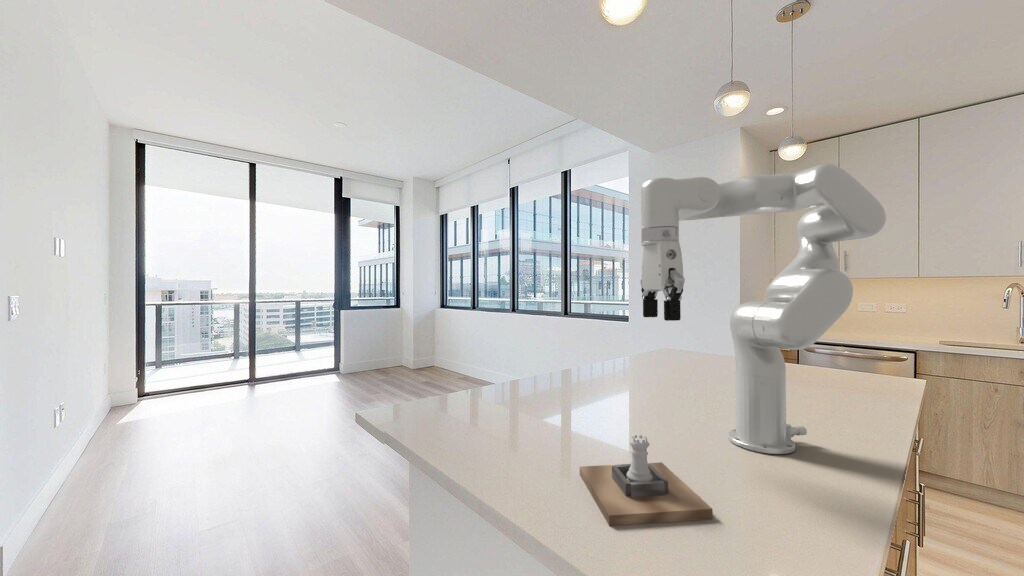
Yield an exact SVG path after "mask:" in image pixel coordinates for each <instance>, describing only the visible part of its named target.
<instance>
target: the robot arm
mask: <svg viewBox="0 0 1024 576" xmlns="http://www.w3.org/2000/svg"><path fill="white" fill-rule="evenodd" d="M825 205H826V206H825ZM819 206H822V207H819ZM815 207H816V208H815ZM811 208H814V209H811ZM806 209H807V210H808V209H811V210H810V211H809V210H808V211H807V212H806V213H804V214H803V215H802V216H801V217H800V219H799V220H798V223H797V226H796V234H797V240H798V253H797V255H796V256H795V257H794V259H792V261H791V262H790V263H789V264H788V265H787V266H785V268H784V269H782V270H781V272H780V273H778V275H776V276H775V277H774V278H773V279H772V280H771V281H770V283H769V284H768V285H767V288H766V290H765V298H766V301H759V300H757V301H747V302H743V303H741V304H739V305H738V306H737V307H735V309H734V310H733V311H732V313H731V316H730V319H729V326H730V332H731V338H732V342H733V347H734V358H735V372H734V373H735V428H734V429H732V430H730V431H729V432H728V434H727V435H728V439H729V441H731V443H733V444H734V445H736V446H738V447H739V448H743V449H746V450H749V451H753V452H758V453H761V454H762V453H764V454H768V455H787V454H791V453H793V452H795V450H796V442H794V441H793V440H792V438H793V437H794V436H799V437H800V436H806V435H807V433H808V430H807V428H806V427H805V426H802V425H800V426H798V425H797V426H792V425H791V424H790V423H787V368H786V362H785V358H784V355H783V353H782V351H781V349H786V350H793V351H794V350H795V351H796V350H804V349H807V348H809V347H811V346H812V345H815V344H816V343H817V341H818V340H819V339H821V337H823V336H824V334H826V333H827V331H828V330H829V329H830V328H831V327H833V326H834V324H835V323H836V322H837V321H838V320H839V319H840V318H841V317H842V316H843V315H844V313H845V312H846V311H847V310H848V308H849V307H850V305H851V303H852V299H853V296H854V287H853V283H852V280H850V278H849V276H847V275H846V274H845V273H844V272H842V271H840V267H841V266H840V265H841V264H840V260H839V258H838V256H837V254H836V251H835V248H834V245H833V243H837V242H844V241H853V240H862V239H867V238H870V237H873V236H875V235H877V234H878V233H880V232H881V230H883V228H884V226H885V225H886V220H887V215H886V214H887V213H886V210H885V208H884V206H883V205H882V203H881V202H880V201H879V200H878V199H877V198H876V197H875V196H874V194H872V193H871V192H870V191H869V190H868V189H867V188H865V186H864V185H862V184H861V182H860V181H858V180H857V179H856V178H855V177H854V176H852V174H850V173H849V172H847V170H844V169H843V168H841V167H839V166H838V165H835V164H831V163H822V164H819V165H815V166H812V167H810V168H806V169H802V170H800V171H797V172H793V173H792V172H791V173H778V174H777V173H775V174H750V175H746V176H742V177H739V178H734V179H731V180H728V181H724V182H721V183H717V181H715V180H714V179H712V178H709V177H705V176H696V177H687V178H678V179H677V178H676V179H675V178H672V177H655V178H652V179H648V180H646V181H645V182H643V183H642V185H641V189H640V212H641V213H640V216H641V217H640V218H641V219H640V220H641V221H640V222H641V223H640V224H641V226H640V229H641V230H640V231H641V234H640V235H641V242H640V243H641V244H640V245H641V247H643V248H642V249H643V251H642V263H641V279H640V287H641V289H640V290H641V294H642V295H641V298H642V316H643V318H658V313H659V311H658V308H659V307H658V306H659V305H658V303H659V302H658V301H659V300H658V299H656V298H657V295H658V294H659V292H662V294H663V295H664V298H665V300H663V320H664V321H669V322H670V321H673V322H674V321H675V322H676V321H681V318H682V317H681V301H682V298H683V297H682V294H683V292H684V286H685V280H686V279H685V277H684V264H683V256H682V250H681V245H680V222H681V221H683V222H684V221H697V220H706V219H707V220H708V219H717V218H725V217H726V218H727V217H728V218H729V217H740V216H745V215H757V214H758V215H760V214H774V213H789V212H790V213H791V212H798V211H803V210H806Z"/></svg>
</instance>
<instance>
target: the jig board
mask: <svg viewBox="0 0 1024 576" xmlns="http://www.w3.org/2000/svg"><path fill="white" fill-rule="evenodd" d="M630 466H631V463H623V464H620V463H619V464H605V465H602V464H601V465H586V466H585V465H584V466H579V476H580V478H581V480H582V481H583V483H584V484H585V486H586V489H587V490H588V492H589V493H590V495H591V496H592V499H593V500H594V502H595V503H596V505H597V507H598V509H599V510H600V512H601V514H602V515H603V518H604V519H605V521H606V523H607V525H608V526H609V527H610V526H611V527H612V526H625V525H626V526H627V525H641V524H655V523H670V522H682V521H683V522H684V521H685V522H686V521H699V520H700V521H701V520H713V518H714V517H713V516H714V515H713V508H712V506H710V505H709V504H708V503H707V502H706V501H705V500H704V499H702V497H700V496H699V495H698V494H697V493H696V492H695V491H694V490H693V489H691V487H689V486H688V485H687V484H686V483H685V482H684V481H683V480H681V479H680V477H679V476H677V475H676V474H675V473H674V472H673V471H672V470H671V469H670V468H668V467H667V465H665V464H664V463H663V462H661V461H660V462H648V468H649V470H650V473H651V474H652V476H653V481H644V482H629V481H628V480H627V476H626V474H627V472H628V471H629V468H630Z"/></svg>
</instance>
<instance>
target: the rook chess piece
mask: <svg viewBox="0 0 1024 576" xmlns="http://www.w3.org/2000/svg"><path fill="white" fill-rule="evenodd" d="M638 436H639V437H638ZM629 444H630V446H631V450H630V453H631V461H630V464H631V466H630V468H629V471H628V472H627V474H626V476H627V480H628V481H629V482H644V481H653V476H652V474H651V473H650V470H649V468H648V463H649V462H648V455H649V452H648V448H649V447H650V442H649V441H648V438H647V436H643V435H641V434H639V435H637V434H633V435H631V439H630V440H629Z"/></svg>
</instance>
